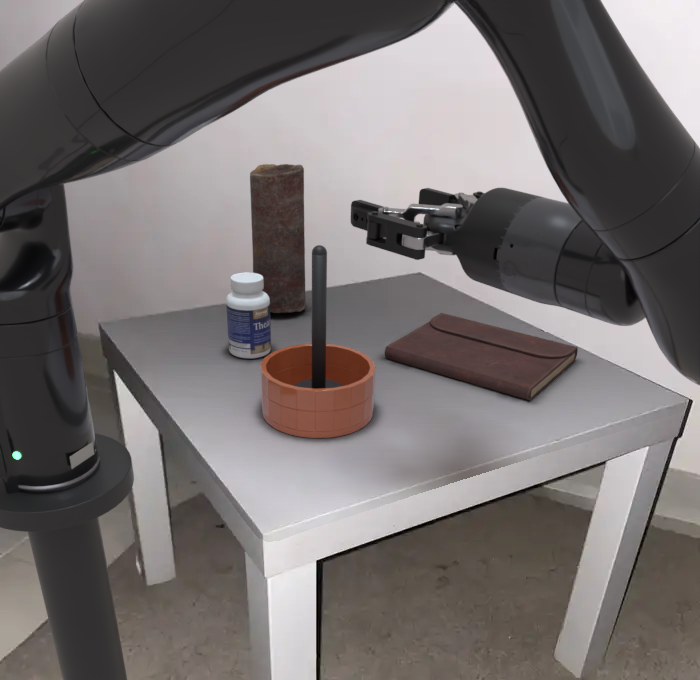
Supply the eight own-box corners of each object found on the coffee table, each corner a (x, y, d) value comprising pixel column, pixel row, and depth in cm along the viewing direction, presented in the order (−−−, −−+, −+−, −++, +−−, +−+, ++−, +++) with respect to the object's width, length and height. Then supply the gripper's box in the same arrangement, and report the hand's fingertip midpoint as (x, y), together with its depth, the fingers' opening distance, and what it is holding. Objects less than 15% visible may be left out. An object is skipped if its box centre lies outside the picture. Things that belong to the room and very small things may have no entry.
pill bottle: (260, 362, 96) (258, 286, 91) (221, 356, 97) (216, 280, 92) (278, 346, 100) (276, 273, 95) (240, 340, 102) (236, 268, 97)
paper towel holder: (304, 422, 82) (303, 257, 72) (282, 398, 86) (279, 240, 77) (355, 411, 84) (360, 250, 75) (331, 389, 88) (333, 234, 79)
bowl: (288, 448, 78) (287, 399, 76) (246, 398, 88) (244, 353, 85) (392, 424, 83) (395, 378, 80) (342, 380, 92) (343, 337, 90)
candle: (292, 324, 107) (290, 173, 97) (245, 316, 110) (238, 167, 99) (313, 306, 114) (313, 162, 103) (268, 299, 116) (264, 157, 105)
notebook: (528, 401, 89) (531, 386, 88) (384, 358, 98) (384, 344, 97) (576, 360, 99) (578, 345, 98) (441, 324, 109) (442, 311, 108)
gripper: (594, 186, 62) (445, 154, 72) (479, 211, 54) (329, 170, 64) (576, 277, 66) (437, 234, 76) (467, 313, 58) (327, 260, 68)
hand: (388, 205), depth 70 cm, fingers open, 8 cm apart
